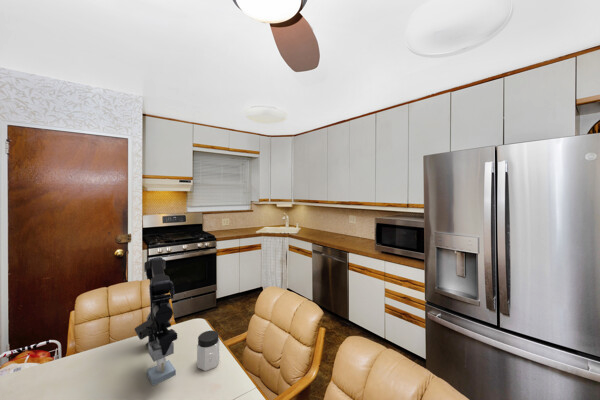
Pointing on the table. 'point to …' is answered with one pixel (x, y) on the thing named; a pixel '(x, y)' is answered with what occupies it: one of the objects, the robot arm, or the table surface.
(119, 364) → the table surface
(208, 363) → the jar
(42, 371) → the table surface
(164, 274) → the robot arm
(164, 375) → the shaft block
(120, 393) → the table surface
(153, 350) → the collar
